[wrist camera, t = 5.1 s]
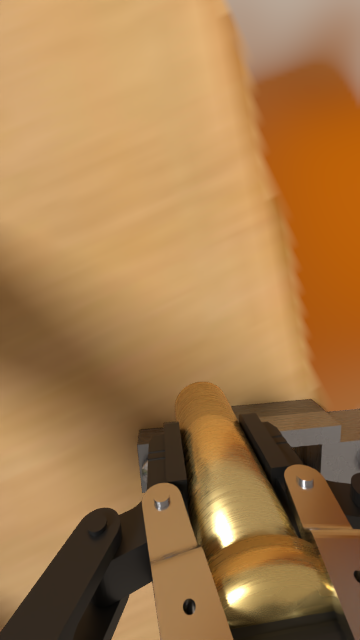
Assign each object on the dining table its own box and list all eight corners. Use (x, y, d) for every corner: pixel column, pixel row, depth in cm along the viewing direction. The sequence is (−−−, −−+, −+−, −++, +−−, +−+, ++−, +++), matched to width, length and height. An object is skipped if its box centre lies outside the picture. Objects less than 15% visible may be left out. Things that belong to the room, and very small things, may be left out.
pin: (165, 379, 15) (181, 603, 5) (232, 371, 15) (372, 571, 5) (170, 439, 16) (195, 733, 6) (234, 431, 16) (359, 700, 6)
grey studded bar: (137, 415, 23) (132, 451, 18) (397, 391, 24) (452, 419, 19) (145, 487, 24) (141, 538, 19) (390, 461, 25) (439, 503, 21)
